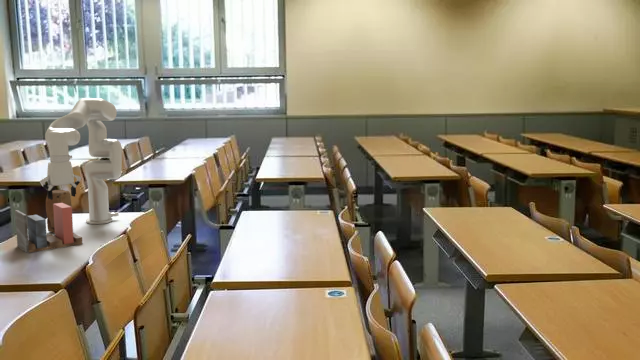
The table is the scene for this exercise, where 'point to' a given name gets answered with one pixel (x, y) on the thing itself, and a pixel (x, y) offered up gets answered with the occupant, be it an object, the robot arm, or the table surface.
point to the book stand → (37, 234)
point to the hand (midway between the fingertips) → (62, 197)
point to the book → (63, 222)
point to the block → (58, 197)
